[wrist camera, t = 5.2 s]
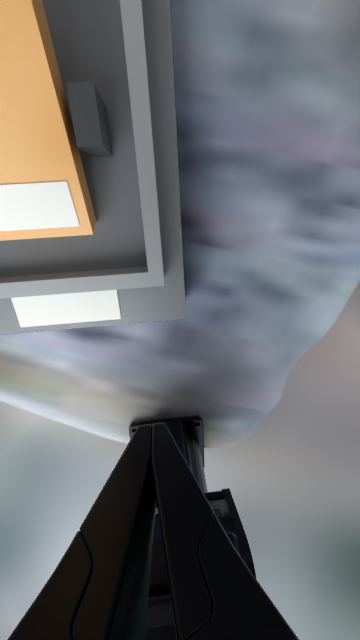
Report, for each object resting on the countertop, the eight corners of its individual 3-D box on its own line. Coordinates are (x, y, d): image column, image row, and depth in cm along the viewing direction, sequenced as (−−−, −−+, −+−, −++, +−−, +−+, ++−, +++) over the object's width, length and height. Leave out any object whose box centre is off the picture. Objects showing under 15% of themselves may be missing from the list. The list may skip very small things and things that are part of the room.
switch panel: (181, 302, 20) (191, 339, 15) (-17, 318, 19) (-83, 364, 14) (157, -131, 12) (159, -404, 6) (-189, -134, 11) (-509, -447, 6)
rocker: (96, 221, 14) (92, 235, 13) (-1, 228, 14) (-13, 242, 13) (24, -71, 8) (6, -90, 7) (-156, -70, 8) (-202, -89, 7)
